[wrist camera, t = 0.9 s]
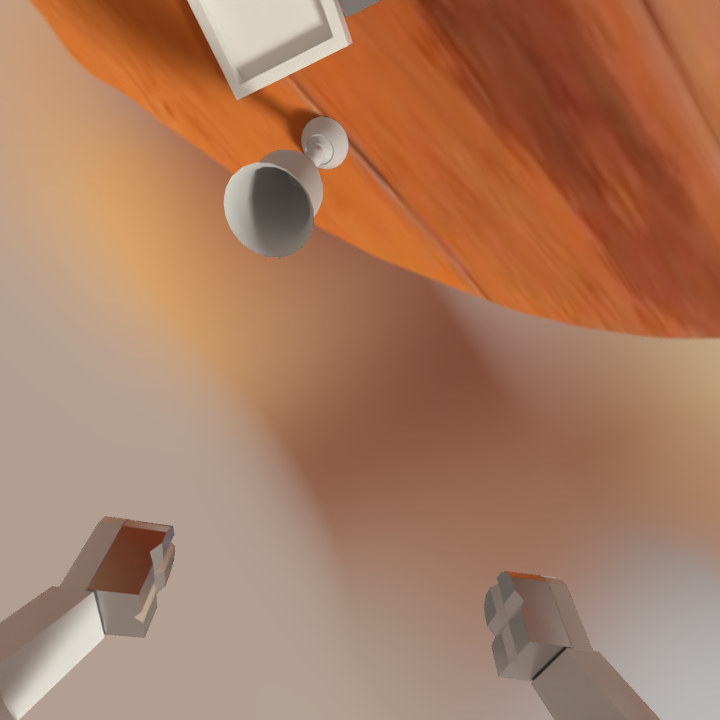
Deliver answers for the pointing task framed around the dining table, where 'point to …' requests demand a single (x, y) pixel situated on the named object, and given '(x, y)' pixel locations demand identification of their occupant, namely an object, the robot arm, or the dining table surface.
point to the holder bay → (355, 5)
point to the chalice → (284, 191)
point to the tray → (269, 37)
